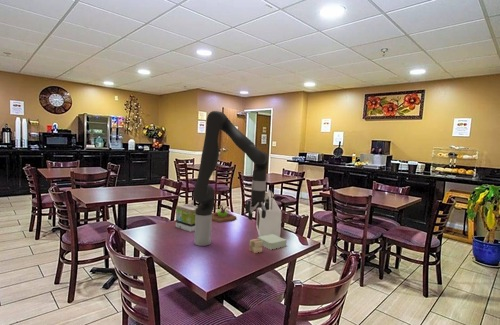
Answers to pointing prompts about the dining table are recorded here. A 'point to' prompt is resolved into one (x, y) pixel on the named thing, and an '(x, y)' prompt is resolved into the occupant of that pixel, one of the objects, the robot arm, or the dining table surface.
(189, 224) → the tea box
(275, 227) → the gable box
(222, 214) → the plant
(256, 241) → the maple block
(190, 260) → the dining table surface
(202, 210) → the robot arm
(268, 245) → the sage plinth
